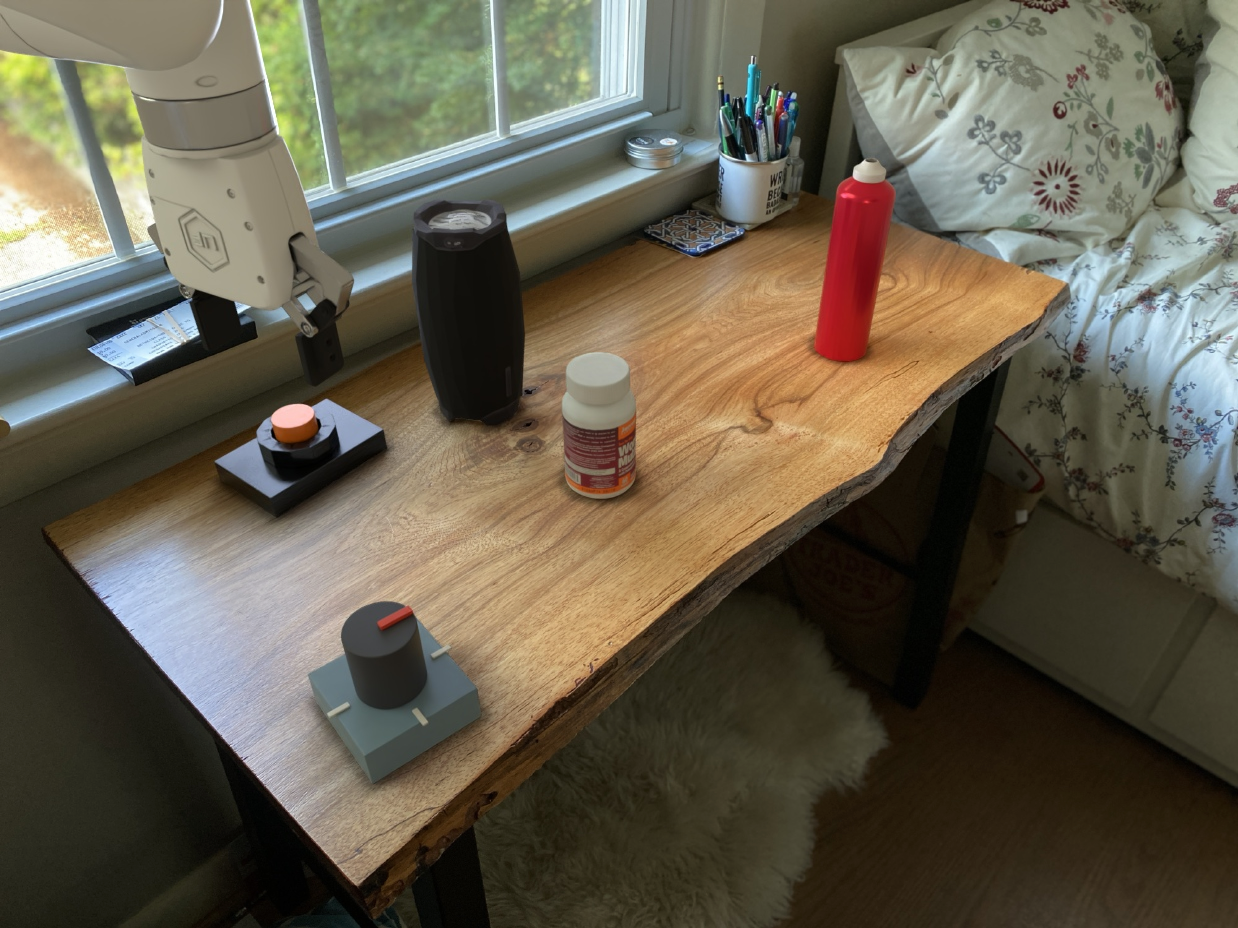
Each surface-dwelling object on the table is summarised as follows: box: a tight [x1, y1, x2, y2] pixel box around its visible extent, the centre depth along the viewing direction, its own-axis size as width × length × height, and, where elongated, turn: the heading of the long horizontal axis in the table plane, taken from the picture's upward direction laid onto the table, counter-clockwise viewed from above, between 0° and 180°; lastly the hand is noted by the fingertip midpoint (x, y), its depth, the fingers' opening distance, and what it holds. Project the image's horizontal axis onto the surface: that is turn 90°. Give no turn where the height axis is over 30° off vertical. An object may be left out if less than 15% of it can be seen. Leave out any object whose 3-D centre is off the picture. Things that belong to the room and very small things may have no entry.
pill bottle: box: [561, 351, 637, 500], centre depth 78 cm, size 6×6×11 cm
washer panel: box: [307, 615, 482, 784], centre depth 61 cm, size 9×9×3 cm
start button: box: [270, 403, 318, 443], centre depth 80 cm, size 4×4×2 cm
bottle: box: [813, 157, 897, 362], centre depth 92 cm, size 6×6×20 cm
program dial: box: [340, 600, 427, 709], centre depth 59 cm, size 5×5×5 cm
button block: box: [213, 398, 388, 519], centre depth 82 cm, size 12×8×4 cm, turn 142°
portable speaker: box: [411, 198, 526, 427], centre depth 84 cm, size 9×9×20 cm
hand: (274, 358), depth 66 cm, fingers open, 9 cm apart
